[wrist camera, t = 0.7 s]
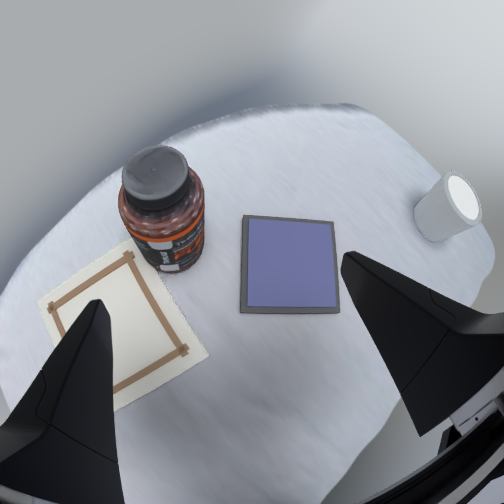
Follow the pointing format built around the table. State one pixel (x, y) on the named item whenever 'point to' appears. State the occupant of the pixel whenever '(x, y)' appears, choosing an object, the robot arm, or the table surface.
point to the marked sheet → (128, 320)
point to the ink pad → (288, 266)
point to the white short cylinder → (448, 208)
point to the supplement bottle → (163, 208)
